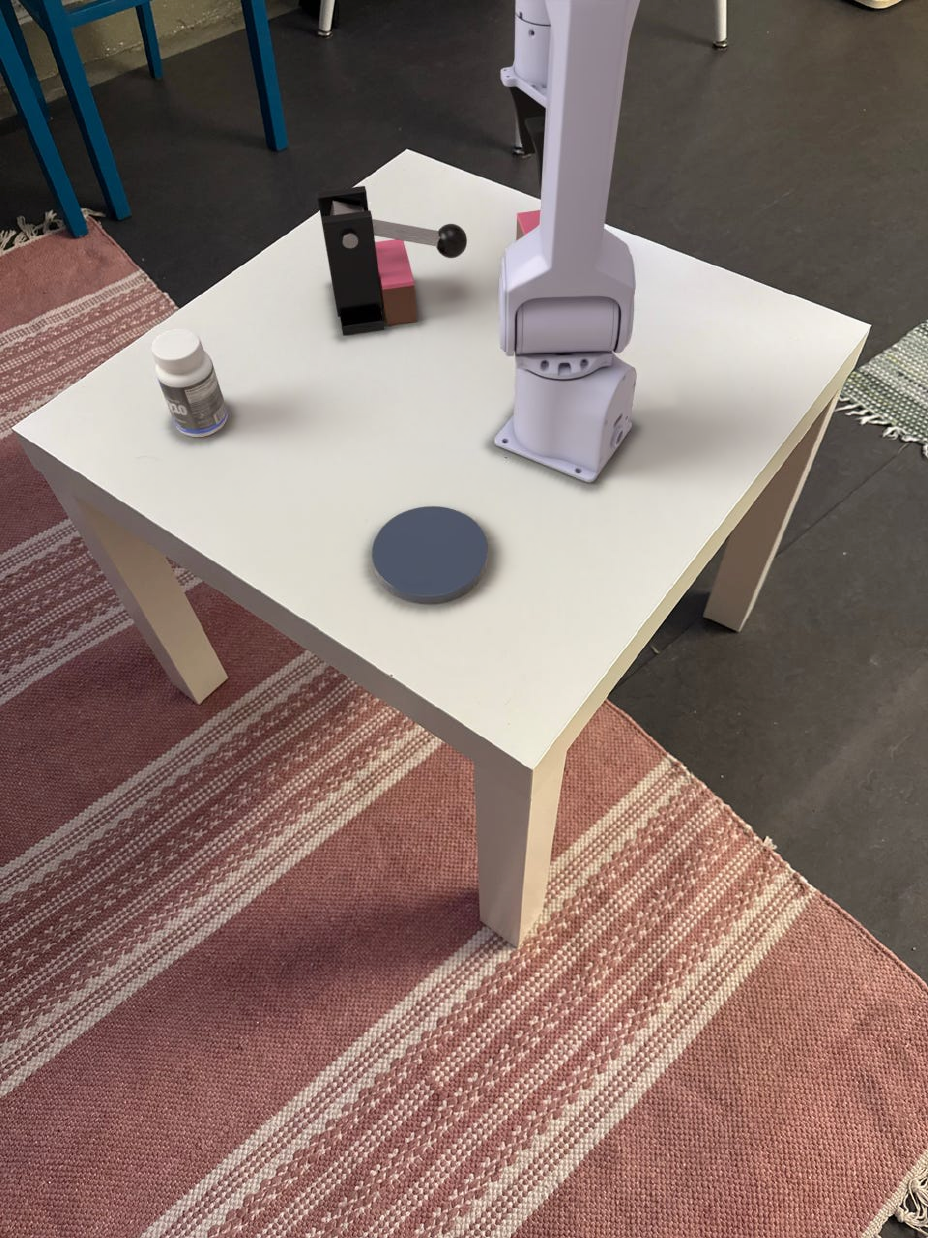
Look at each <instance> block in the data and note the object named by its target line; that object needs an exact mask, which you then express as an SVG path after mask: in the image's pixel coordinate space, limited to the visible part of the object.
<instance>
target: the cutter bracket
mask: <svg viewBox="0 0 928 1238" xmlns="http://www.w3.org/2000/svg"><path fill="white" fill-rule="evenodd" d="M316 197H317V203H318V210H319V215H320V220H321V226H322V232H323V233H322V234H323V237H324V238H323V239H324V244H325V250H326V256H327V263H328V268H329V274H330V281H331V286H332V291H333V296H334V303H335V309H336V315H337V317H338V318H339V320H340V325H341V326H340V327H341V331H342V335H343V336H348V335H349V336H350V335H356V334H363V333H370V332H376V331H377V332H378V331H383V330H385V323H384V322H385V321H384V317H383V312H384V311H383V304H382V295H381V287H380V278H379V270H378V262H377V253H376V245H375V242H376V236H375V235H374V228H373V220H372V219H373V214H372V211H371V210H370V209H369V203H368V195H367V188H366V186H365V185H360V186H359V185H358V186H352V187H351V186H350V187H345V188H337V189H330V190H322V191H317V192H316ZM333 201H336V202H341V203H346V204H352V205H357V206H362V207H363V210H364V211H361V212H353V213H346V214H338V215H331V216H330V211H331V206H332V202H333ZM382 311H383V312H382Z"/></svg>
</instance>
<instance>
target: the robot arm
mask: <svg viewBox="0 0 928 1238" xmlns="http://www.w3.org/2000/svg"><path fill="white" fill-rule="evenodd" d="M640 3H641V0H515V6H514V7H515V8H514V9H515V12H514V15H515V16H514V60H513V63H512V65H511V66H507V67H503V68H501V69H500V80H501V82H502V85H503V86H504V87H507V88H508V89H509V92H510V95H511V99H512V102H513V106H514V111H515V116H516V121H517V128H518V129H517V130H518V134H519V140H520V141H519V142H520V145H521V149H522V152H523V154H524V155H525V156H526V155H532V154H535V158H536V166H537V167H536V169H537V177H538V186H539V190H540V208H539V210H540V224H539V225H538V226H537V227H536V228H535V229H533V230H532V231H531V232H529V233H528V234H526V235H524V236H523V237H521V238H520V239H518V240H517V241H514V242H513V243H511V244H509V245H508V246H507V247H506V248H505V249H504V256H502V258H500V259H501V261H500V275H499V277H498V326H499V327H498V329H499V330H498V331H499V348H500V350H501V351H503V353H505V356H507V357H514V364H515V365H514V401H513V403H514V406H513V407H514V408H513V414H512V416H511V417H510V418H509V420H508V421H507V422H506V423H505V424H504V425H503V427H502V428H501V429H500V431H498V433H497V435H496V436H495V437H494V438H493V441H494V443H493V444H494V445H496V446H497V447H499V448H502V449H505V450H507V451H509V452H511V453H514V454H517V455H520V456H521V457H524V458H526V459H529V460H531V461H534V462H536V463H538V464H541V465H544V466H546V467H548V468H551V469H553V470H556V471H558V472H561V473H563V474H566V475H568V476H571V477H574V478H576V479H578V480H580V481H583V482H586V483H593V482H594V481H596V479H597V477H598V476H599V475H600V473H601V472H602V471H603V469H604V468H605V466H606V465H607V463H608V462H609V461H610V459H611V458H612V457H613V455H614V453H615V452H616V451H617V450H618V448H619V446H620V445H621V443H623V441H624V439H625V438H626V436H627V435H628V434H629V432H630V431H631V429H632V427H633V422H632V421H631V415H632V411H633V410H632V409H633V404H634V397H635V393H636V392H635V391H636V385H637V378H638V377H637V376H638V372H637V369H636V367H634V366H633V365H631V364H630V363H627V362H625V361H624V360H622V359H621V358H620V357H618V355H616V354H621V353H623V352H624V350H625V349H626V348H627V347H628V346H629V344H630V343H631V339H632V336H633V329H634V320H635V319H634V318H635V295H636V287H637V286H636V285H637V281H636V270H635V262H634V257H633V254H631V251H630V248H629V245H628V244H627V243H626V242H625V241H623V240H622V239H621V238H619V237H618V236H617V235H615V234H614V233H612V232H611V231H609V230H608V229H606V228H605V225H606V218H607V211H608V201H609V195H610V187H611V179H612V172H613V166H614V165H613V164H614V157H615V149H616V142H617V134H618V128H619V127H618V126H619V120H620V112H621V105H622V97H623V90H624V82H625V74H626V67H627V61H628V60H627V59H628V52H629V46H630V45H629V44H630V40H631V34H632V32H633V31H632V30H633V27H634V23H635V20H636V16H637V12H638V9H639V5H640Z"/></svg>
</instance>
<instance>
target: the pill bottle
mask: <svg viewBox="0 0 928 1238" xmlns="http://www.w3.org/2000/svg"><path fill="white" fill-rule="evenodd" d="M150 348H151V352H152V355H153V356H152V357H153V360H154V362H155V368H154V369H155V370H154V371H155V376H156V379H157V381H158V384H159V386H160V389H161V391H162V394H163V397H164V399H165V402H166V404H167V408H168V410H169V412H170V415H171V418H172V420H173V423H174V426H175V427H176V429H177V430H178V431H179V432H180V433H181V434H182V435H185V436H187V437H191V438H202V437H203V438H204V437H207V436H210V435H213V434H215V433H216V432H218V431H220V430H221V429H222V428H223V427H224V426H225V424H226V423H227V421H228V417H229V412H228V409H227V405H226V401H225V398H224V396H223V393H222V390H221V386H220V383H219V379H218V377H217V376H218V375H217V374H216V369H215V367H214V364H213V360H212V358H211V357H210V355H209V354H208V352H206V351H205V350H204V347H203V343H202V340H201V338H200V336H199V335H198V334H197V333H196V332H195V331H193V330H191V329H188V328H173V329H169V330H166V331H163V332H162V333H160V334H158V335H157V336H156V337H154V339H153V341H152V342H151V347H150Z"/></svg>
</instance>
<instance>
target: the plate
mask: <svg viewBox="0 0 928 1238" xmlns="http://www.w3.org/2000/svg"><path fill="white" fill-rule="evenodd" d="M371 558H372V564H373V570H374V573H375V575H376V577H377V579H378V581H379V582H380V584H381V585H382V586H383V587H384V588H385V589H386V590H387V591H388V592H389V593H390V594H392V595H394V596H396V597H398V598H399V599H401V600H404V601H407V602H411V603H416V604H424V605H431V604H432V605H433V604H440V603H441V604H442V603H445V602H449V601H452V600H455V599H457V598H459V597H462V596H463V595H465V594H466V593H468V592H470V591H471V590H472V589H473V588H474V587H475V586H477V584H478V583H479V582H480V581H481V580H482V578H483V576H484V574H485V572H486V570H487V566H488V561H489V560H488V559H489V547H488V541H487V538H486V535H485V533H484V531H483V530H482V528H481V526H480V525H479V523H477V522H476V521H475V520H474V519H473V518H471V517H470V516H469V515H467V514H465V513H464V512H461V511H460V510H456V509H454V508H451V507H445V506H440V505H439V506H438V505H429V506H428V505H427V506H419V507H415V508H410V509H408V510H405V511H403V512H401V513H399V514H397V515H395V516H394V517H392V518H391V519H389V520H388V521H387V522H386V523H385V524H384V525H383V526H382V527H381V528H380V529H379V531H378V533H377V534H376V536H375V538H374V541H373V544H372V547H371Z"/></svg>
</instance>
